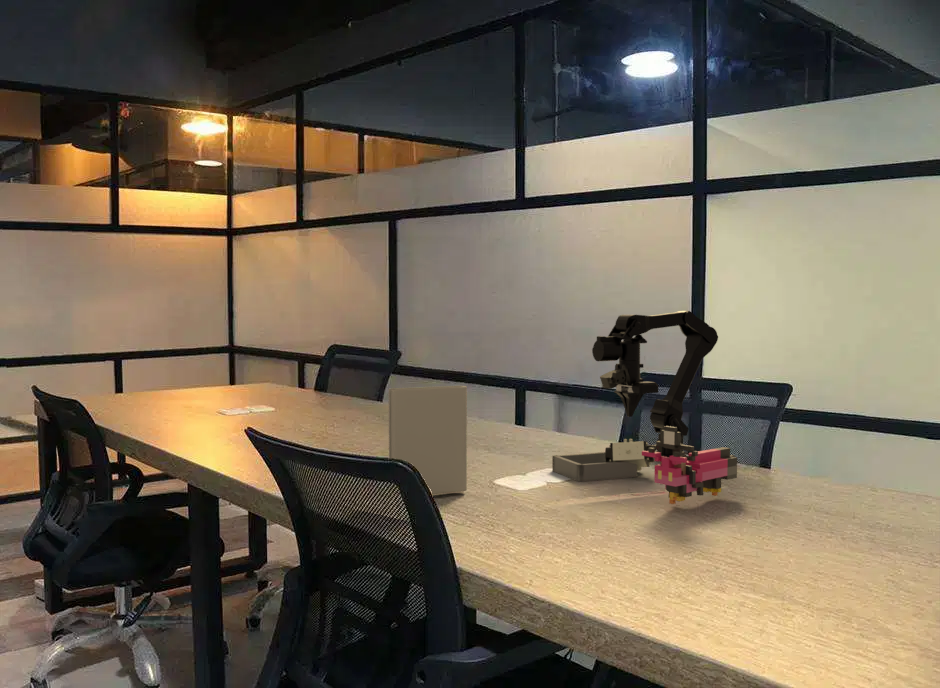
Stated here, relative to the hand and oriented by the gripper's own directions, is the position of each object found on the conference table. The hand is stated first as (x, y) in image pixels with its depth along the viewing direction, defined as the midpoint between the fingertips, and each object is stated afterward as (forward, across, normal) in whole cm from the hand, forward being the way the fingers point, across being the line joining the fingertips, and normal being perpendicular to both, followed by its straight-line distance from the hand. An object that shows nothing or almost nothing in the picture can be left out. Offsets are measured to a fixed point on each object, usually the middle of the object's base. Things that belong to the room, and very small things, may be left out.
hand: (629, 416), depth 232 cm
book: (+12, +16, -66) cm, 69 cm away
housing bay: (+12, +12, -19) cm, 26 cm away
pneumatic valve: (+10, +13, -8) cm, 18 cm away
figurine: (+12, +45, -14) cm, 49 cm away
